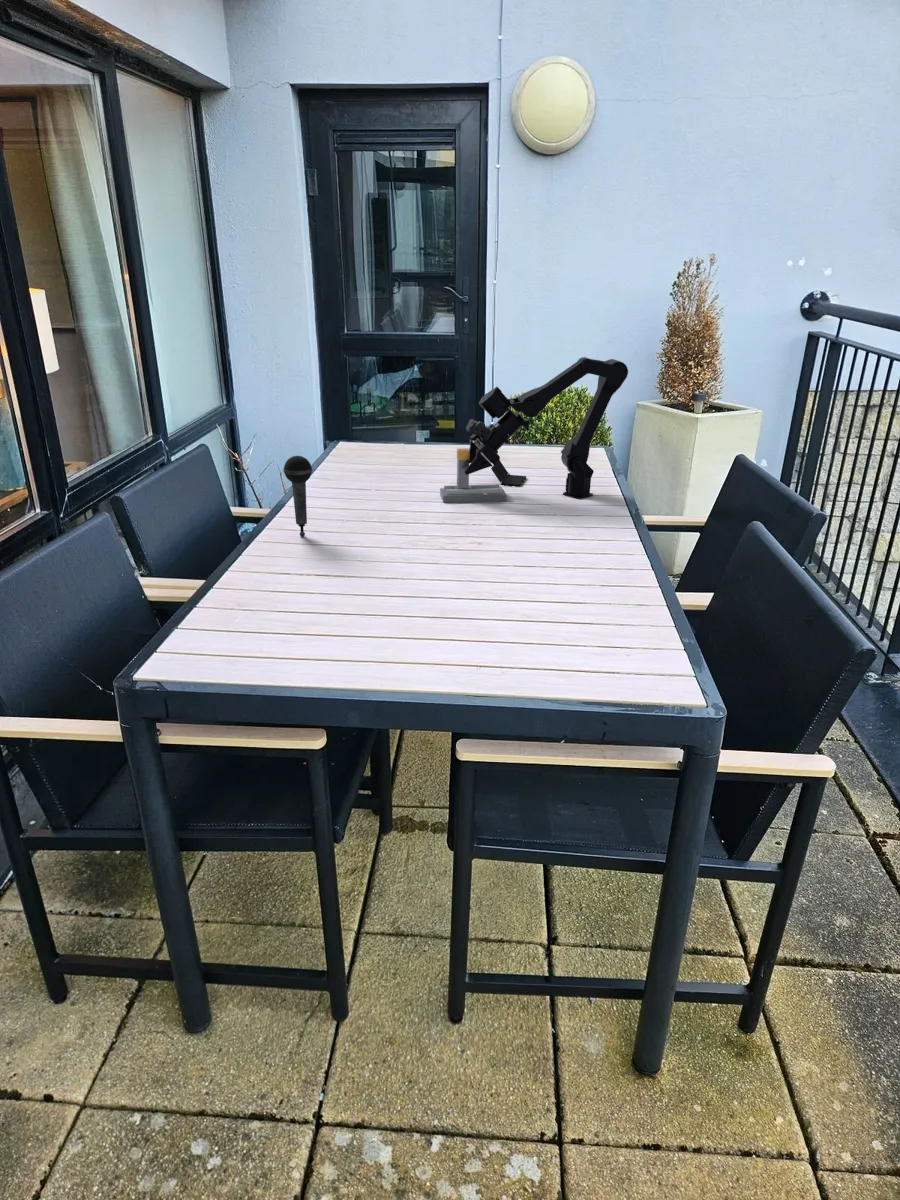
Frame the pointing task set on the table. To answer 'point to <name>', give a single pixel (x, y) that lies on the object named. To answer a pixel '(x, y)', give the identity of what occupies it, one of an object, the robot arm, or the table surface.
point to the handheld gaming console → (507, 476)
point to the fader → (462, 469)
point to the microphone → (299, 486)
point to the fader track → (473, 493)
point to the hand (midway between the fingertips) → (463, 469)
